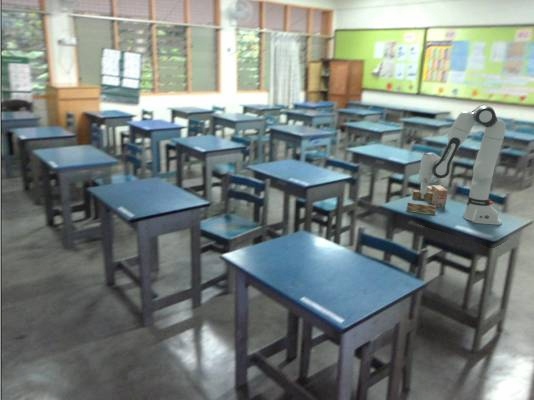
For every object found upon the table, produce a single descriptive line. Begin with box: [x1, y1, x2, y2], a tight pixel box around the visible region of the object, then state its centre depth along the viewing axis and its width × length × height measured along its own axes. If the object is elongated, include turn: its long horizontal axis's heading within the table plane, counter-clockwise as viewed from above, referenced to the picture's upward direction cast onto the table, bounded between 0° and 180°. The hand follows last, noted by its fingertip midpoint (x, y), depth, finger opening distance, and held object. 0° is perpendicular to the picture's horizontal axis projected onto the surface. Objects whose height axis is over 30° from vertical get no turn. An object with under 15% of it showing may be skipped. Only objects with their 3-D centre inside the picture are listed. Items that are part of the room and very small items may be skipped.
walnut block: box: [411, 189, 433, 203], centre depth 292 cm, size 12×4×6 cm, turn 78°
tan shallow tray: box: [406, 202, 437, 216], centre depth 294 cm, size 18×10×3 cm, turn 70°
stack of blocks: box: [427, 184, 449, 208], centre depth 312 cm, size 21×6×12 cm, turn 4°
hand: (422, 197), depth 292 cm, fingers closed on walnut block, 4 cm apart
